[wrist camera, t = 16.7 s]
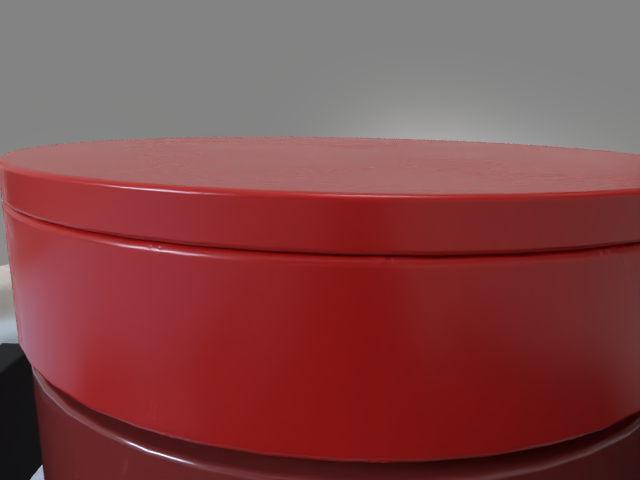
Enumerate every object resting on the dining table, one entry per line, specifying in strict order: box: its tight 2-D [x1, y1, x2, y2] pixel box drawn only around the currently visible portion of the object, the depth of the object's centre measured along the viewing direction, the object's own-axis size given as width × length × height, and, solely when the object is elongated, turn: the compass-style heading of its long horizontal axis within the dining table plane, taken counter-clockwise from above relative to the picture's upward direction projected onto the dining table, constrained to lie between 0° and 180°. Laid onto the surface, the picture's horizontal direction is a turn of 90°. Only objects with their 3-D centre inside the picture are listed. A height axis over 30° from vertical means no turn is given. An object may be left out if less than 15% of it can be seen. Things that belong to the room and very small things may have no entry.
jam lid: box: [0, 137, 640, 463], centre depth 7 cm, size 8×8×2 cm
